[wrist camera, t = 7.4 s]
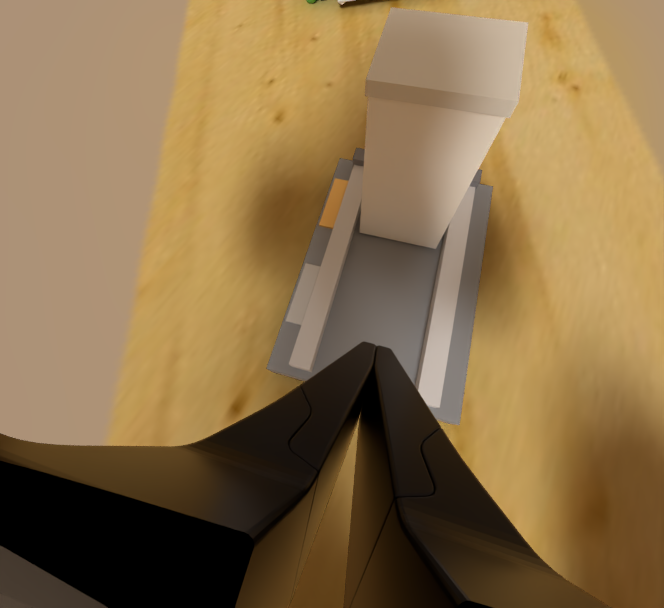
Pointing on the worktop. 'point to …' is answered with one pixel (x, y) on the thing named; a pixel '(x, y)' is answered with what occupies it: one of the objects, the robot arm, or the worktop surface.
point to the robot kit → (340, 0)
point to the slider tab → (433, 117)
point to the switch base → (387, 294)
